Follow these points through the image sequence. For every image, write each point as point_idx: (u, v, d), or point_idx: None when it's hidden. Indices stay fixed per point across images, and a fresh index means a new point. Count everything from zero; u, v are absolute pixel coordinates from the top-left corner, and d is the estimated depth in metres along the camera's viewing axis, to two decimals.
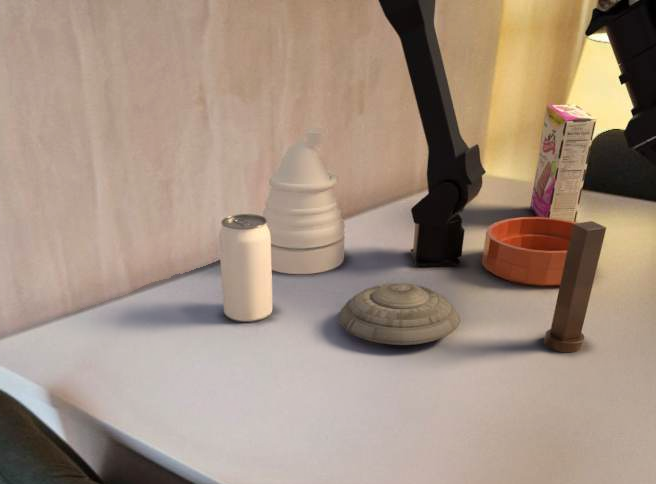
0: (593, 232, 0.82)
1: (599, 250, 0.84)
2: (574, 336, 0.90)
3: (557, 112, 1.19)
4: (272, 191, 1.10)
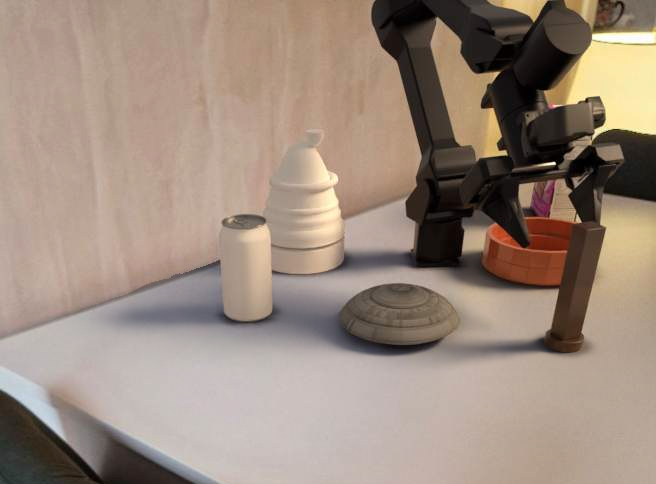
0: (593, 232, 0.82)
1: (599, 250, 0.84)
2: (574, 336, 0.90)
3: None
4: (272, 191, 1.10)
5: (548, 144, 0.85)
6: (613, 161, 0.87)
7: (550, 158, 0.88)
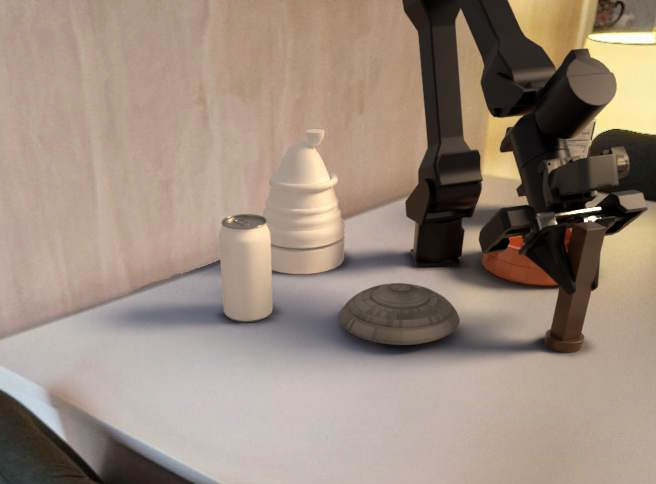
0: (593, 232, 0.82)
1: (599, 250, 0.84)
2: (574, 336, 0.90)
3: None
4: (272, 191, 1.10)
5: (570, 193, 0.84)
6: (636, 209, 0.86)
7: (571, 206, 0.87)
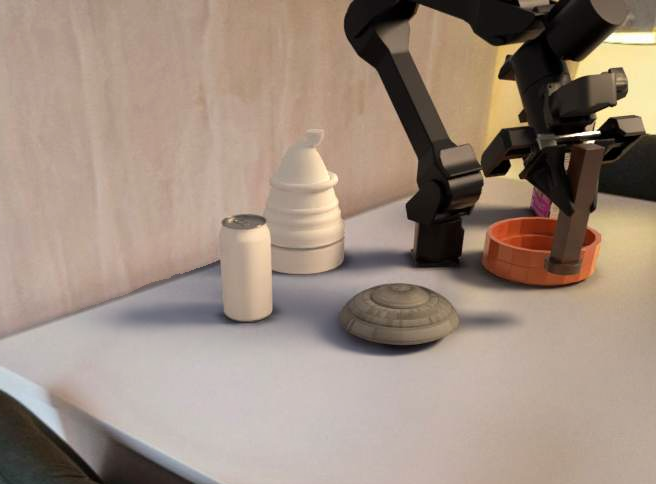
0: (592, 151, 0.84)
1: (597, 171, 0.86)
2: (573, 260, 0.92)
3: None
4: (272, 191, 1.10)
5: (570, 115, 0.86)
6: (634, 133, 0.88)
7: (571, 130, 0.89)
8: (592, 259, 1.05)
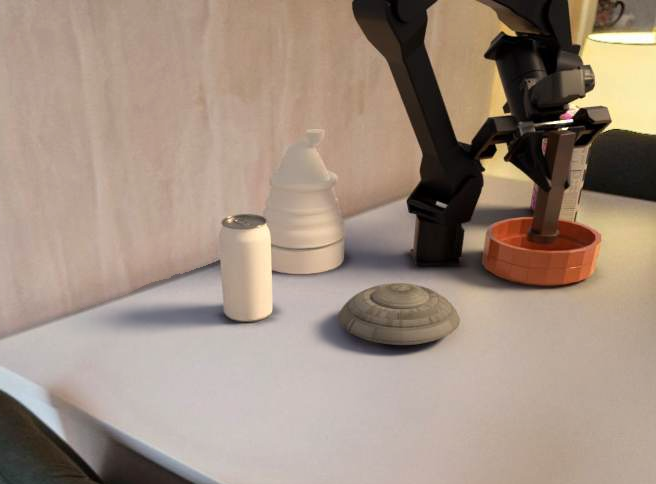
0: (565, 136, 0.99)
1: (570, 153, 1.01)
2: (551, 231, 1.07)
3: None
4: (272, 191, 1.10)
5: (546, 106, 1.01)
6: (601, 121, 1.03)
7: (548, 119, 1.04)
8: (592, 259, 1.05)
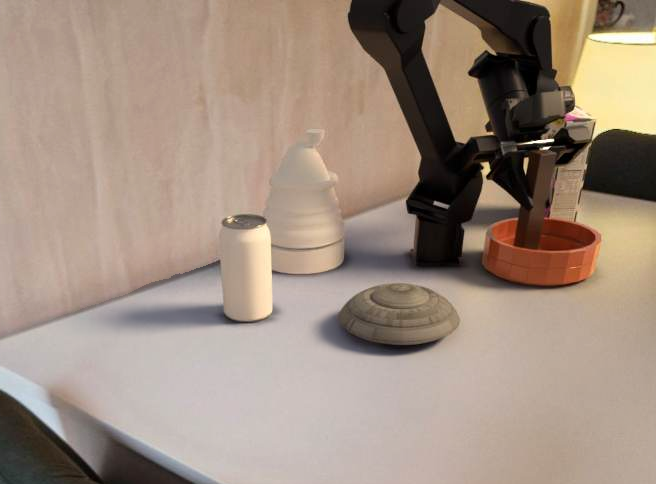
0: (546, 156, 1.00)
1: (551, 173, 1.02)
2: (532, 248, 1.08)
3: None
4: (272, 191, 1.10)
5: (528, 126, 1.02)
6: (582, 141, 1.04)
7: (529, 138, 1.05)
8: (592, 259, 1.05)
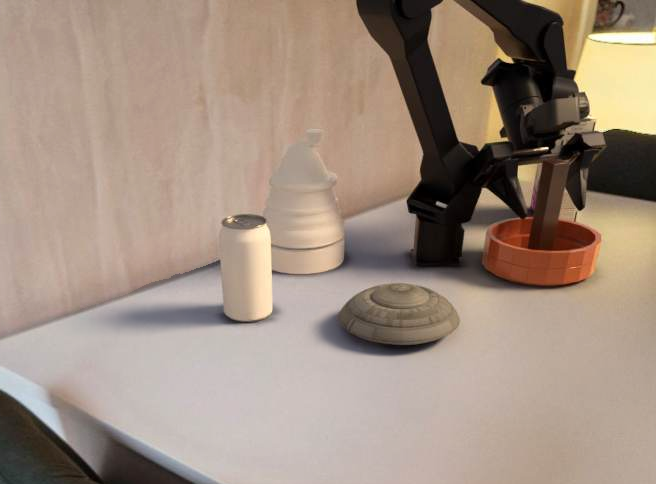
0: (559, 166, 1.01)
1: (564, 182, 1.03)
2: None
3: None
4: (272, 191, 1.10)
5: (542, 132, 1.03)
6: (596, 146, 1.05)
7: (544, 144, 1.06)
8: (592, 259, 1.05)
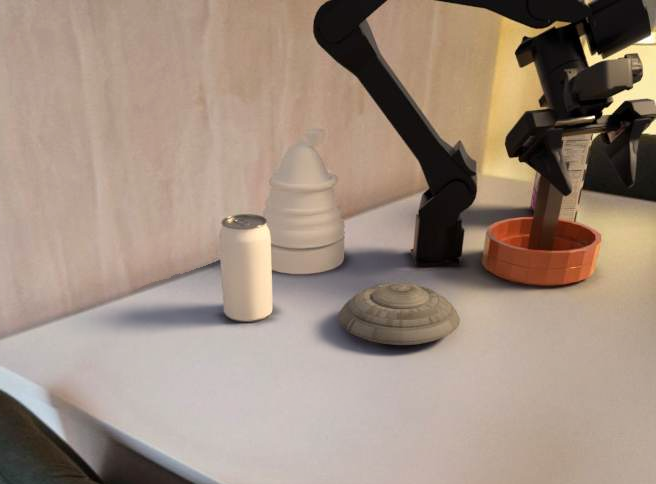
0: None
1: None
2: None
3: None
4: (272, 191, 1.10)
5: (589, 98, 0.92)
6: (648, 115, 0.94)
7: (589, 113, 0.95)
8: (592, 259, 1.05)
